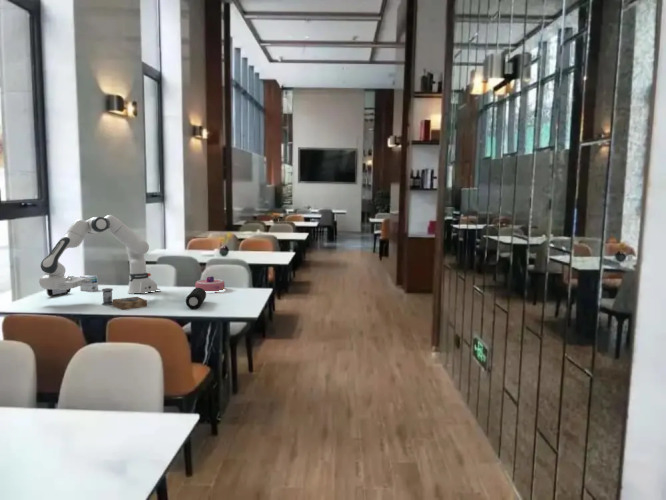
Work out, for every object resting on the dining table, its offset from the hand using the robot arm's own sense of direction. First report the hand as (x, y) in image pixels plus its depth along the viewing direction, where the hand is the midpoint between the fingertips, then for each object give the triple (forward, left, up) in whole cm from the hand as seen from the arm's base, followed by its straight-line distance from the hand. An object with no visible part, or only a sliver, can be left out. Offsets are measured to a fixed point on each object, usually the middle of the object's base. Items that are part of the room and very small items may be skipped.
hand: (87, 283), depth 360 cm
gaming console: (+6, -44, -14) cm, 47 cm away
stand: (-19, +22, -14) cm, 32 cm away
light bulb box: (-17, -52, -14) cm, 56 cm away
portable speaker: (-53, +46, -14) cm, 71 cm away
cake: (-86, +3, -14) cm, 87 cm away
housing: (-10, +8, -14) cm, 19 cm away
